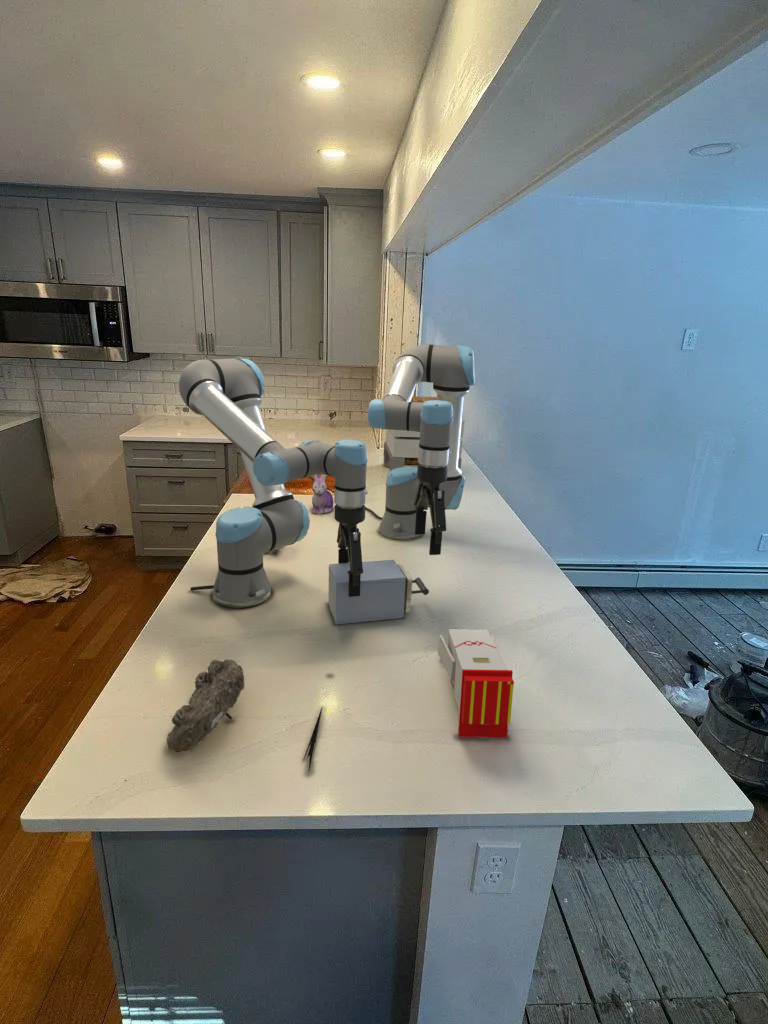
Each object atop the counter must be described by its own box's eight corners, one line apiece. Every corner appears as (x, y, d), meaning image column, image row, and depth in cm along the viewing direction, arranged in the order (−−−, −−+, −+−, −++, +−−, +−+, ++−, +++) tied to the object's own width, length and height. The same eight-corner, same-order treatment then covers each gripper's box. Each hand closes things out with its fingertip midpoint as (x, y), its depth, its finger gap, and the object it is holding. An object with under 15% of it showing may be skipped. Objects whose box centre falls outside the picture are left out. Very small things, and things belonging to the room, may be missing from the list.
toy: (488, 613, 130) (523, 677, 101) (484, 667, 133) (517, 744, 104) (435, 612, 130) (455, 676, 101) (432, 666, 133) (451, 743, 103)
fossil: (192, 660, 117) (244, 628, 112) (224, 691, 120) (276, 661, 115) (142, 746, 98) (202, 712, 93) (182, 779, 101) (242, 748, 96)
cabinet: (391, 597, 156) (394, 559, 152) (403, 617, 146) (405, 577, 142) (328, 603, 151) (328, 564, 147) (335, 624, 141) (336, 582, 137)
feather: (331, 679, 122) (336, 673, 122) (307, 777, 96) (313, 769, 95) (324, 675, 122) (329, 669, 121) (298, 772, 95) (304, 764, 95)
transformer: (382, 463, 289) (386, 382, 275) (445, 464, 293) (451, 384, 279) (390, 482, 257) (394, 392, 243) (460, 483, 261) (468, 394, 247)
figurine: (315, 516, 213) (315, 477, 208) (306, 507, 221) (306, 470, 216) (338, 512, 217) (339, 475, 212) (328, 504, 225) (329, 468, 220)
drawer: (418, 593, 157) (420, 561, 153) (429, 610, 148) (432, 577, 145) (340, 600, 151) (341, 567, 148) (348, 618, 142) (349, 584, 139)
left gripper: (377, 521, 127) (374, 605, 134) (354, 488, 149) (352, 562, 157) (344, 523, 125) (343, 608, 132) (326, 489, 148) (325, 564, 155)
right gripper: (464, 478, 130) (456, 563, 137) (432, 452, 152) (427, 525, 159) (433, 479, 128) (426, 564, 135) (405, 452, 151) (401, 526, 158)
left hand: (348, 583), depth 144 cm, fingers open, 13 cm apart
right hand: (427, 543), depth 147 cm, fingers open, 13 cm apart
